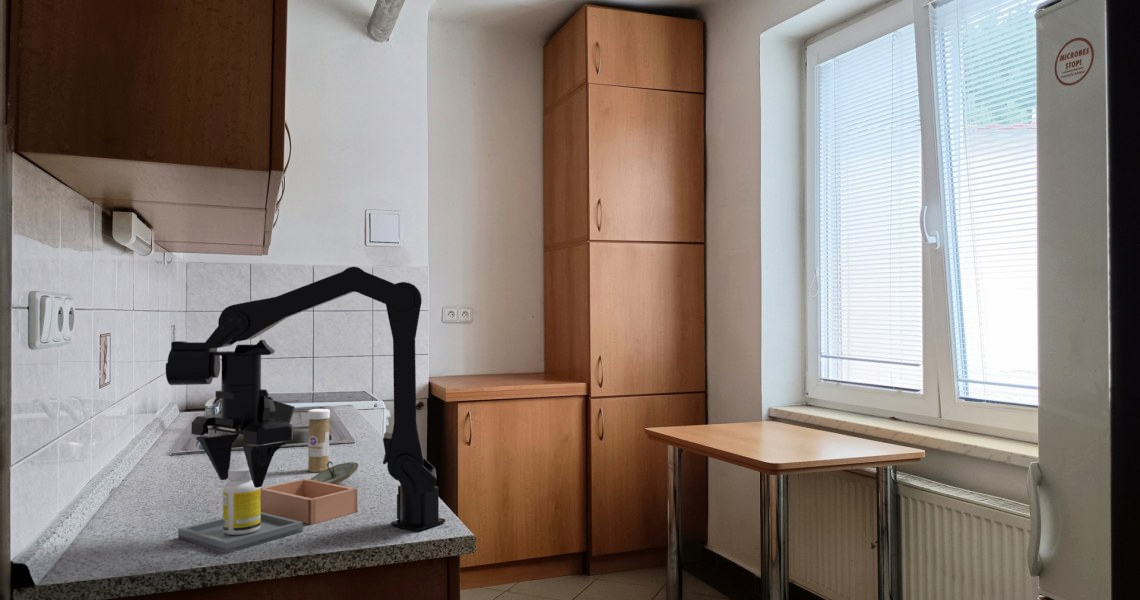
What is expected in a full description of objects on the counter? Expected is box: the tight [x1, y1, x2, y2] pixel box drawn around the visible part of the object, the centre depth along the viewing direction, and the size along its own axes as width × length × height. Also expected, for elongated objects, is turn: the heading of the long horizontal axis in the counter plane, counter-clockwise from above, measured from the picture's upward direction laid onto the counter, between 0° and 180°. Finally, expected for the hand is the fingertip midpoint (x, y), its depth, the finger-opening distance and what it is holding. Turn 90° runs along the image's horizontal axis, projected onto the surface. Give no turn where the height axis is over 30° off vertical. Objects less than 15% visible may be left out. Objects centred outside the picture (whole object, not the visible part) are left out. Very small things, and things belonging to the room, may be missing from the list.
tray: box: [177, 512, 304, 554], centre depth 118 cm, size 13×13×2 cm
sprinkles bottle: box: [307, 408, 331, 473], centre depth 166 cm, size 5×5×13 cm
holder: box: [260, 478, 358, 525], centre depth 132 cm, size 15×10×4 cm, turn 56°
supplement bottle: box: [222, 465, 261, 535], centre depth 118 cm, size 5×5×10 cm
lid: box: [310, 460, 359, 485], centre depth 152 cm, size 11×10×5 cm
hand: (240, 483), depth 118 cm, fingers open, 9 cm apart
